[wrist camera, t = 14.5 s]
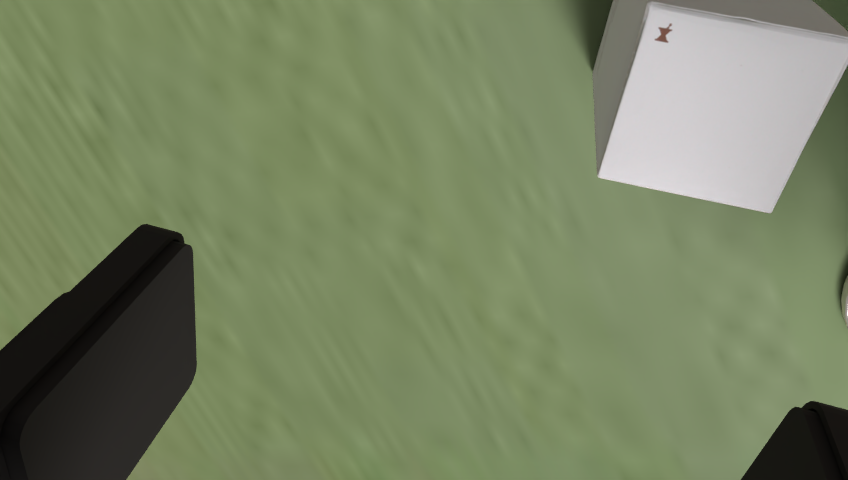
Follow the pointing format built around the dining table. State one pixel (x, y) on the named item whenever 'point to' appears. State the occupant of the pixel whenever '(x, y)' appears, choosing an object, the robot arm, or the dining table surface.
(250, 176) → the dining table surface
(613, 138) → the supplement box
